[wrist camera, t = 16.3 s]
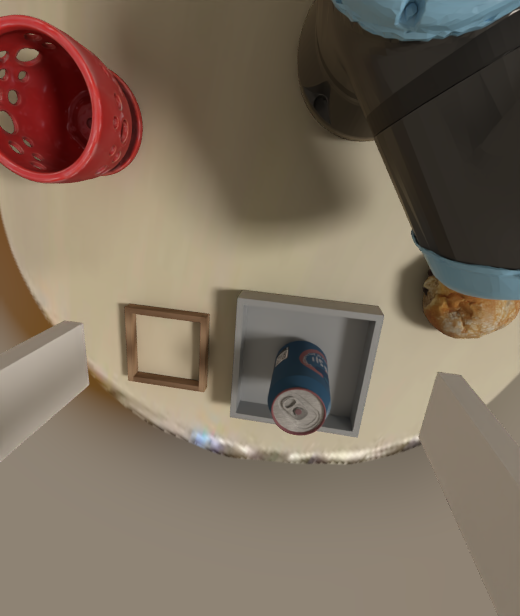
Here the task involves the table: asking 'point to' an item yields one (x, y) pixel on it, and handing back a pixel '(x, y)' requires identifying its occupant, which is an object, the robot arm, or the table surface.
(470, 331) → the bread roll
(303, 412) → the soda can
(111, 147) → the plant pot
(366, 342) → the grey bin
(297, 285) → the table surface
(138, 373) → the walnut frame
